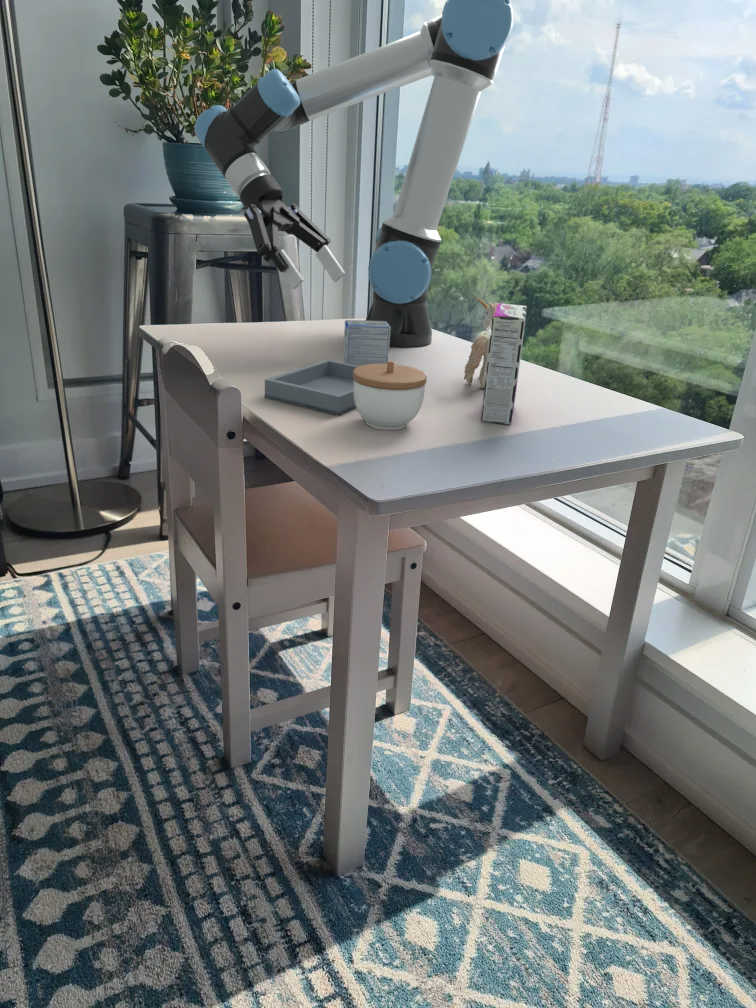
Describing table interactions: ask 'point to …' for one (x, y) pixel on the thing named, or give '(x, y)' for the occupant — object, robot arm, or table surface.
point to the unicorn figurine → (480, 347)
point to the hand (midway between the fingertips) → (320, 281)
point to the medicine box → (366, 342)
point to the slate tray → (315, 387)
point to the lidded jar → (388, 394)
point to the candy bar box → (503, 363)
